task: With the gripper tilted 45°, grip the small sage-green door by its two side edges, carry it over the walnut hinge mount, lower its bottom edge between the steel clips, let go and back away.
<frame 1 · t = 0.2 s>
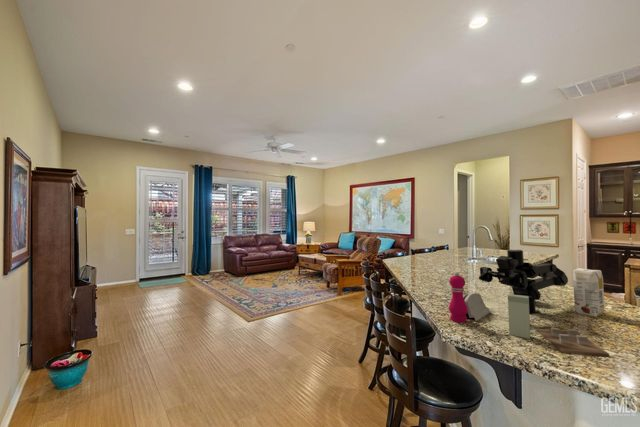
hand: (489, 280, 119), 17 cm above the counter, tool horizontal, fingers open, 9 cm apart
grey rounded slab: (474, 315, 127), on the counter
door: (519, 335, 103), on the counter
hinge mount: (568, 342, 97), on the counter
juice carton: (589, 314, 124), on the counter
food container: (525, 301, 144), on the counter
pepper mill: (458, 320, 120), on the counter
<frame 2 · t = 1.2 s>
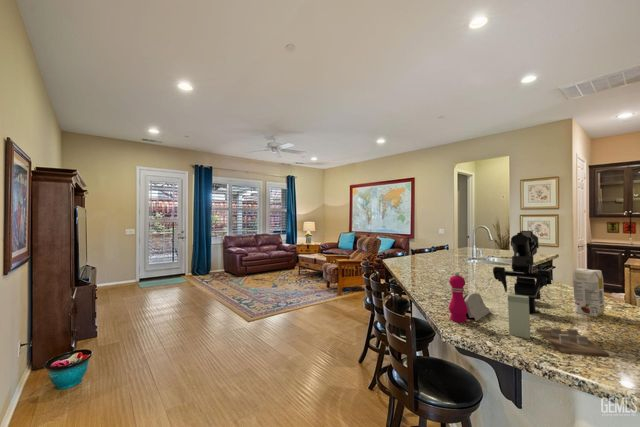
hand: (520, 293, 110), 13 cm above the counter, tool tilted 45°, fingers open, 9 cm apart
nothing on the counter moved.
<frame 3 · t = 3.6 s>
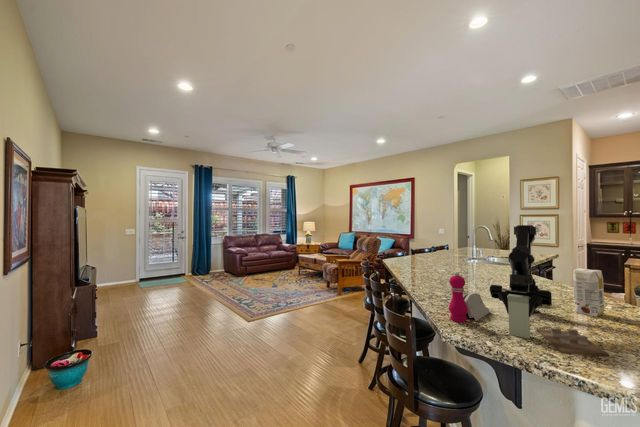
hand: (518, 314, 102), 8 cm above the counter, tool tilted 45°, fingers closed on door, 6 cm apart
door: (519, 335, 103), on the counter, touching gripper
everything else where it was.
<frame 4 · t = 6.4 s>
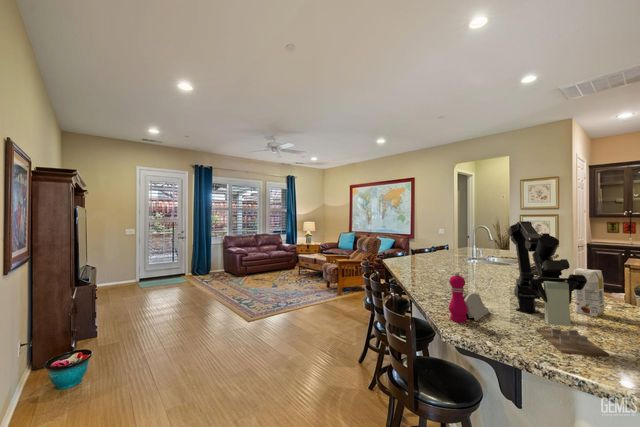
hand: (558, 302, 97), 13 cm above the counter, tool tilted 45°, fingers closed on door, 6 cm apart
door: (557, 323, 98), point 6 cm above the counter, touching gripper
everything else where it was.
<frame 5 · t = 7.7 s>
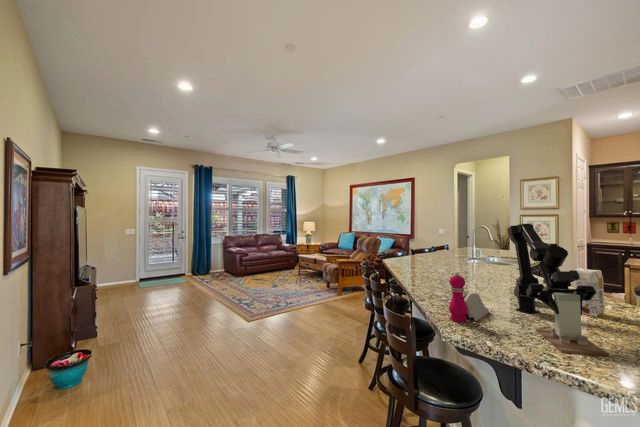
hand: (569, 314, 96), 10 cm above the counter, tool tilted 45°, fingers closed on door, 6 cm apart
door: (568, 335, 97), point 2 cm above the counter, touching gripper
everything else where it was.
when the fingers open (9 cm above the counter, at t = 9.0 s): door stays where it is, resting on hinge mount.
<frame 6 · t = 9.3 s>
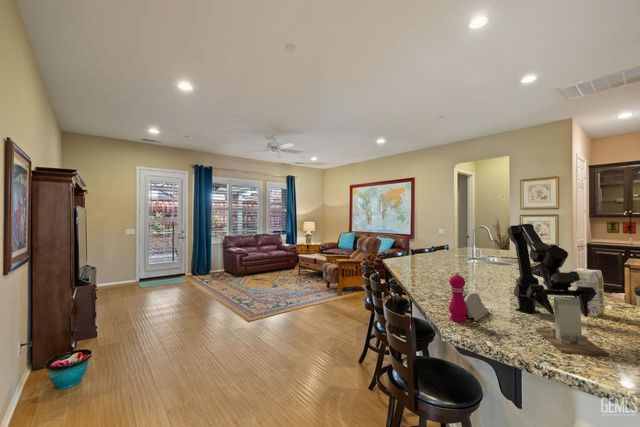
hand: (569, 315, 95), 9 cm above the counter, tool tilted 45°, fingers open, 9 cm apart
door: (568, 339, 97), point 1 cm above the counter, touching hinge mount
everything else where it was.
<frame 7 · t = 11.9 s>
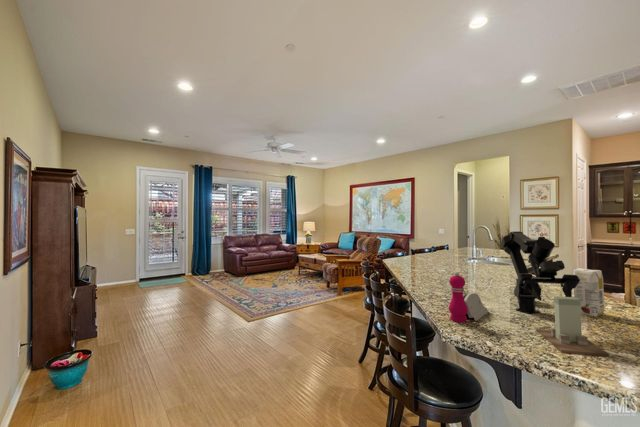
hand: (555, 300, 104), 12 cm above the counter, tool tilted 45°, fingers open, 9 cm apart
nothing on the counter moved.
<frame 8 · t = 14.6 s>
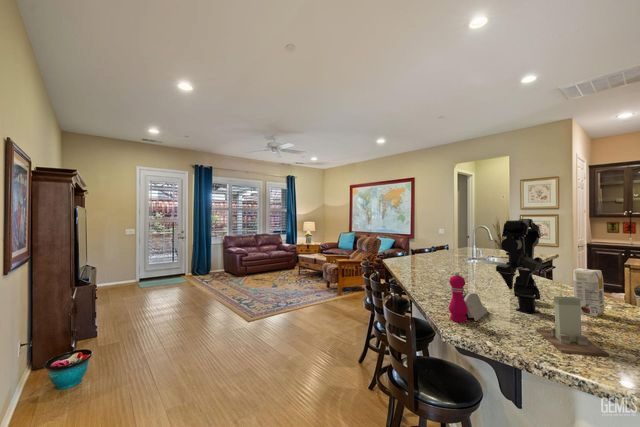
hand: (517, 288, 119), 13 cm above the counter, tool pointing down, fingers open, 9 cm apart
nothing on the counter moved.
at the end: door 0.0 cm off-centre on the hinge mount, point 0.8 cm above the hinge mount's base; door tilted 0°; the gripper is holding nothing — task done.
